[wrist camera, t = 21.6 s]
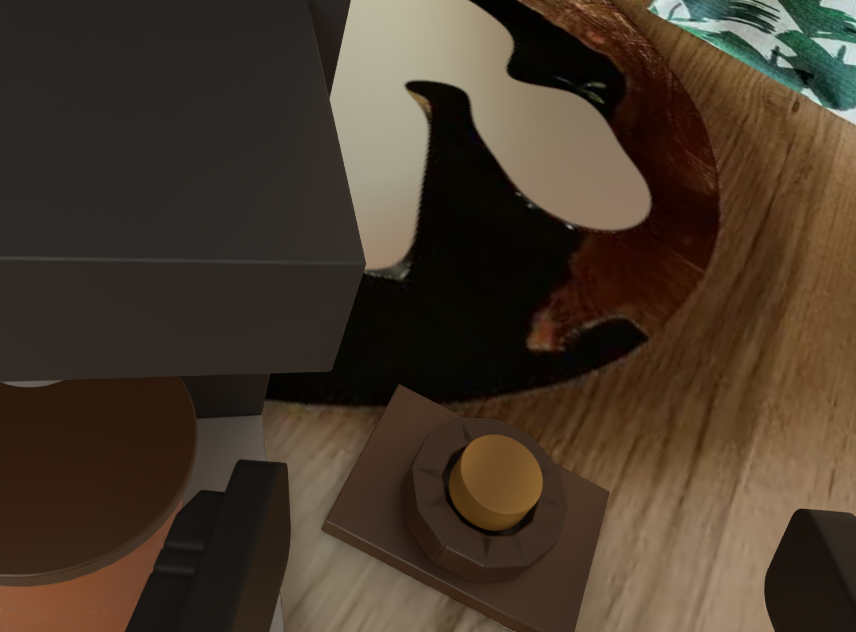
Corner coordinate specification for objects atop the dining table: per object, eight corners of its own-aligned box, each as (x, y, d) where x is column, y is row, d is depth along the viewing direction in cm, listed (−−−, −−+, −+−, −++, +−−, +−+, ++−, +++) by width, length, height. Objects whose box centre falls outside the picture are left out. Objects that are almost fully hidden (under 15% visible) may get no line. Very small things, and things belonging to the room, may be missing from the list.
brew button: (537, 476, 30) (552, 458, 29) (513, 546, 28) (529, 530, 27) (464, 439, 30) (477, 420, 29) (436, 506, 28) (448, 487, 27)
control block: (601, 500, 33) (628, 474, 31) (560, 655, 28) (589, 635, 26) (394, 394, 33) (408, 362, 32) (320, 530, 29) (332, 502, 27)
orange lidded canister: (219, 553, 26) (248, 396, 18) (104, 737, 22) (79, 634, 14) (62, 470, 26) (26, 281, 18) (-81, 637, 22) (-202, 483, 14)
